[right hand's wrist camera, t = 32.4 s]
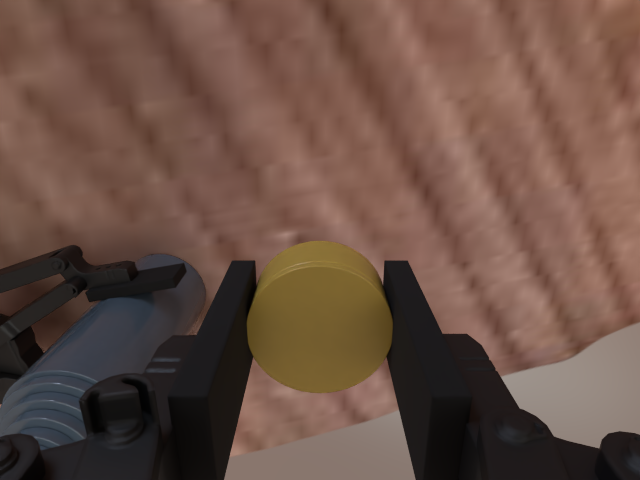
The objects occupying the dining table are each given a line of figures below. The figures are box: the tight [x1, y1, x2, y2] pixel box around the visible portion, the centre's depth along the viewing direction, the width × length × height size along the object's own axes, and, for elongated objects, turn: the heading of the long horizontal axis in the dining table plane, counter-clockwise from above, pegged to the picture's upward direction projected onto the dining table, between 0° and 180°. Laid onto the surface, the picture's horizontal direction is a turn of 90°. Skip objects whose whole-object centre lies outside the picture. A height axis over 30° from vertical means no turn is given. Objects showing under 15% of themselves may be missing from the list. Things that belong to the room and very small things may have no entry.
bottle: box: [0, 254, 206, 450], centre depth 30 cm, size 8×8×22 cm
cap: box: [247, 241, 393, 393], centre depth 14 cm, size 4×4×2 cm
